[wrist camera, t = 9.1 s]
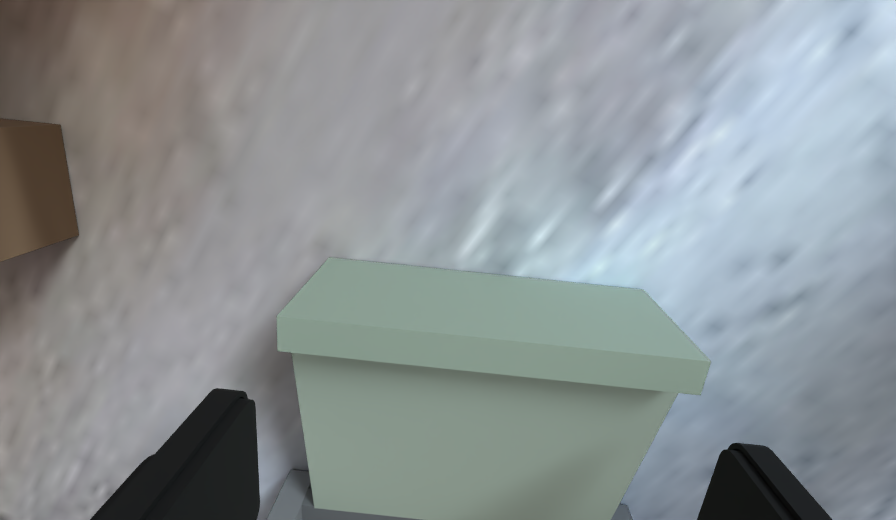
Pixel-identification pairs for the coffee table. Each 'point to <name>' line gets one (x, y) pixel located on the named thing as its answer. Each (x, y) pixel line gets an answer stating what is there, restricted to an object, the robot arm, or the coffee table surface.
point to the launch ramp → (478, 390)
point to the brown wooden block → (33, 188)
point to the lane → (298, 516)
